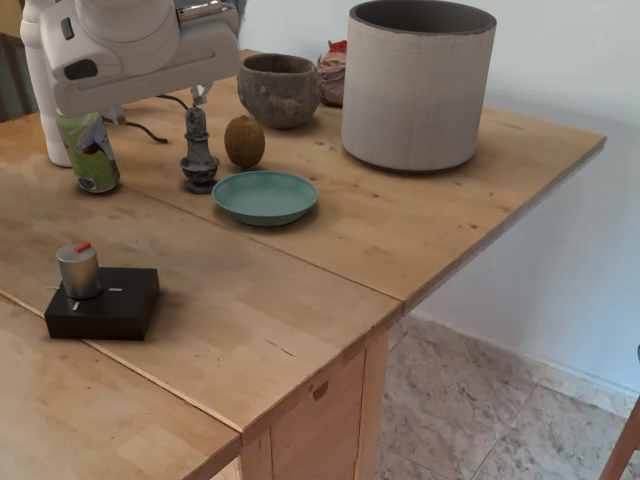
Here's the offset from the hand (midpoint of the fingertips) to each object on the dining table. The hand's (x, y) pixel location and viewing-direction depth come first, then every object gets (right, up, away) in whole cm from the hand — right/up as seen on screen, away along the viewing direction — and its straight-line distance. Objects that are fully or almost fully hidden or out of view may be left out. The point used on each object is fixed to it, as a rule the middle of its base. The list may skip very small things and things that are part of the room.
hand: (160, 109), depth 79 cm
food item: (+22, +27, +54) cm, 64 cm away
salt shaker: (+1, -1, +23) cm, 23 cm away
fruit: (+7, +4, +28) cm, 29 cm away
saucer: (+11, -6, +18) cm, 22 cm away
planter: (+33, +9, +35) cm, 49 cm away
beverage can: (-14, -2, +21) cm, 25 cm away
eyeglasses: (-12, +16, +40) cm, 45 cm away
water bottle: (-20, +5, +28) cm, 35 cm away
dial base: (-5, -24, -2) cm, 25 cm away
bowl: (+11, +17, +43) cm, 47 cm away
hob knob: (-7, -22, -4) cm, 23 cm away
